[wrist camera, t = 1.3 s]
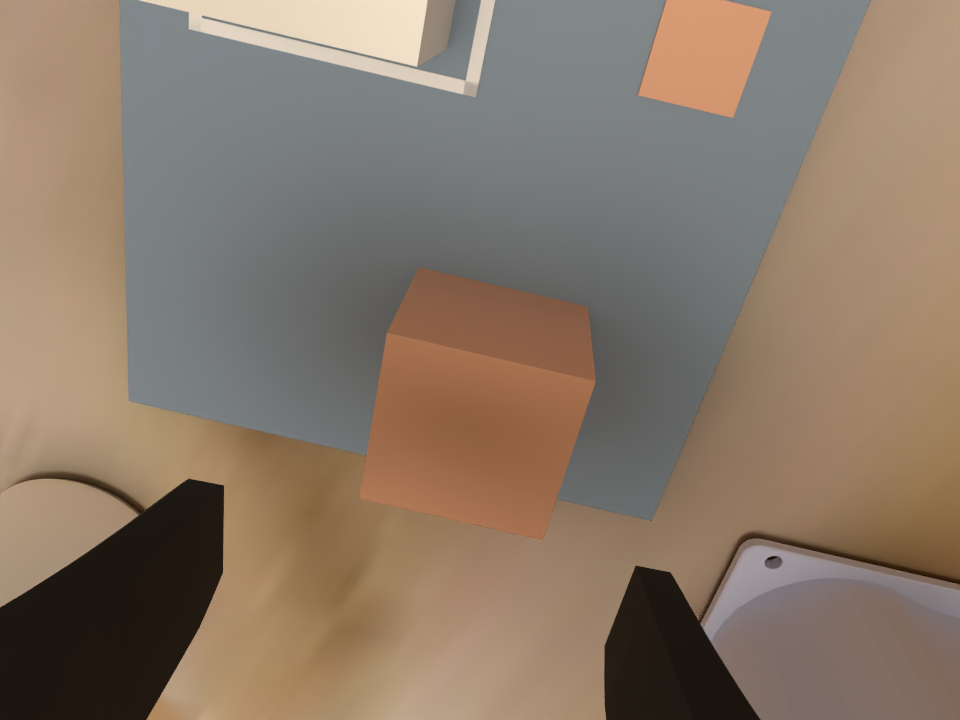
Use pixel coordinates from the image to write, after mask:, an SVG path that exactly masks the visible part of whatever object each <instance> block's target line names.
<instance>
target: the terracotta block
mask: <svg viewBox="0 0 960 720" xmlns="http://www.w3.org/2000/svg"><path fill="white" fill-rule="evenodd" d="M595 382H596V378H595V369H594V359H593V350H592V340H591V331H590V321H589V312H588V307H587V306H583V305H579V304H575V303H570V302H566V301H562V300H558V299H553V298H549V297H545V296H540V295H536V294H532V293H528V292H523V291H519V290H515V289H511V288H506V287H502V286H498V285H493V284H489V283H485V282H481V281H476V280H472V279H468V278H464V277H459V276H455V275H451V274H446V273H442V272H438V271H434V270H429V269H425V268H421V267H418V270H417V272H416V274H415V276H414V278H413V280H412V282H411V284H410V286H409V288H408V290H407V292H406V294H405V296H404V298H403V301H402V303H401V305H400V307H399V309H398V311H397V313H396V315H395V317H394V319H393V321H392V323H391V325H390V327H389V330H388V332H387V335H386V341H385V347H384V353H383V359H382V365H381V371H380V377H379V383H378V389H377V395H376V401H375V407H374V413H373V419H372V425H371V431H370V437H369V443H368V448H367V454H366V460H365V466H364V472H363V478H362V484H361V490H360V496H359V498H360V499H364V500H368V501H373V502H377V503H381V504H386V505H390V506H395V507H399V508H403V509H408V510H412V511H417V512H421V513H425V514H430V515H434V516H438V517H443V518H447V519H452V520H456V521H460V522H465V523H469V524H473V525H478V526H482V527H487V528H491V529H495V530H500V531H504V532H509V533H513V534H517V535H522V536H526V537H530V538H535V539H539V540H543V538H544V535H545V532H546V529H547V526H548V523H549V520H550V517H551V514H552V511H553V508H554V505H555V502H556V499H557V496H558V493H559V490H560V487H561V484H562V481H563V478H564V475H565V472H566V469H567V466H568V463H569V460H570V457H571V454H572V451H573V448H574V445H575V442H576V439H577V436H578V433H579V430H580V427H581V424H582V421H583V418H584V415H585V412H586V409H587V406H588V403H589V400H590V397H591V394H592V391H593V388H594V385H595Z"/></svg>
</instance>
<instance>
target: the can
mask: <svg viewBox="0 0 960 720" xmlns="http://www.w3.org/2000/svg"><path fill="white" fill-rule="evenodd" d="M140 514H141V513H140V512H139V511H138V510H137V509H136V508H134V507H133V506H132V505H131V504H129V503H128V502H126V501H125V500H123V499H122V498H120V497H119V496H117V495H115V494H113V493H111V492H109V491H107V490H105V489H103V488H100V487H98V486H95V485H92V484H89V483H85V482H81V481H76V480H69V479H36V480H30V481H25V482H22V483H19V484H16V485H14V486H12V487H10V488H8V489H7V490H5V491H4V492H2V493H1V494H0V607H1V606H3V605H5V604H6V603H8V602H10V601H11V600H13V599H15V598H17V597H18V596H20V595H22V594H23V593H25V592H26V591H28V590H30V589H31V588H33V587H34V586H36V585H37V584H39V583H41V582H42V581H44V580H45V579H47V578H48V577H50V576H52V575H53V574H55V573H56V572H58V571H59V570H61V569H62V568H64V567H66V566H67V565H69V564H70V563H72V562H73V561H75V560H76V559H78V558H79V557H81V556H82V555H84V554H85V553H87V552H88V551H89V550H91V549H92V548H94V547H95V546H97V545H98V544H99V543H101V542H102V541H104V540H105V539H106V538H108V537H109V536H111V535H112V534H114V533H115V532H116V531H118V530H119V529H121V528H122V527H123V526H125V525H126V524H128V523H129V522H130V521H132V520H133V519H134V518H136V517H137V516H138V515H140Z"/></svg>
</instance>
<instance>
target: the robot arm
mask: <svg viewBox="0 0 960 720" xmlns="http://www.w3.org/2000/svg"><path fill="white" fill-rule="evenodd" d="M223 520H224V486H223V485H218V484H213V483H208V482H203V481H198V480H192V479H188V480H186V481H185V482H183V483H182V484H180V485H179V486H177V487H176V488H175V489H173V490H172V491H171V492H169V493H168V494H167V495H165V496H164V497H163V498H161V499H160V500H159V501H157V502H156V503H155V504H153V505H152V506H151V507H149V508H148V509H147V510H145V511H144V512H143V513H141V514H140V515H138V516H137V517H136V518H134V519H133V520H132V521H130V522H129V523H128V524H126V525H125V526H123V527H122V528H121V529H119V530H118V531H116V532H115V533H114V534H112V535H111V536H109V537H108V538H106V539H105V540H104V541H102V542H101V543H99V544H98V545H97V546H95V547H94V548H92V549H91V550H89V551H88V552H87V553H85V554H84V555H82V556H81V557H79V558H78V559H76V560H75V561H73V562H72V563H70V564H69V565H67V566H66V567H64V568H62V569H61V570H59V571H58V572H56V573H55V574H53V575H52V576H50V577H48V578H47V579H45V580H44V581H42V582H41V583H39V584H37V585H36V586H34V587H33V588H31V589H30V590H28V591H26V592H25V593H23V594H22V595H20V596H18V597H17V598H15V599H13V600H11V601H10V602H8V603H6V604H5V605H3V606H1V607H0V720H146V719H147V718H148V716H149V714H150V712H151V711H152V709H153V707H154V706H155V704H156V702H157V700H158V699H159V697H160V695H161V693H162V692H163V690H164V688H165V687H166V685H167V683H168V681H169V680H170V678H171V676H172V675H173V673H174V671H175V669H176V668H177V666H178V664H179V662H180V661H181V659H182V657H183V655H184V654H185V652H186V650H187V648H188V647H189V645H190V643H191V641H192V640H193V638H194V636H195V634H196V632H197V631H198V629H199V627H200V625H201V623H202V620H203V618H204V616H205V613H206V611H207V609H208V607H209V604H210V602H211V600H212V597H213V595H214V593H215V590H216V588H217V585H218V583H219V581H220V578H221V576H222V573H223ZM771 556H777V557H776V558H775V559H772V560H766V559H767V558H768V557H771ZM604 682H605V711H606V720H960V584H956V583H951V582H947V581H943V580H938V579H934V578H930V577H925V576H921V575H917V574H912V573H908V572H903V571H899V570H895V569H890V568H886V567H882V566H877V565H873V564H869V563H864V562H860V561H855V560H851V559H847V558H842V557H838V556H834V555H829V554H825V553H821V552H816V551H812V550H808V549H803V548H799V547H794V546H790V545H786V544H781V543H777V542H773V541H768V540H764V539H756V538H754V539H750V540H747V541H745V542H744V543H742V545H741V546H740V547H739V549H738V551H737V553H736V555H735V557H734V559H733V561H732V563H731V565H730V567H729V569H728V571H727V572H726V574H725V576H724V578H723V580H722V582H721V584H720V586H719V588H718V590H717V592H716V594H715V596H714V598H713V600H712V602H711V604H710V606H709V608H708V610H707V612H706V614H705V616H704V618H703V620H702V622H701V624H700V623H699V621H698V619H697V617H696V616H695V614H694V612H693V610H692V609H691V607H690V605H689V603H688V602H687V600H686V598H685V596H684V595H683V593H682V591H681V589H680V588H679V586H678V584H677V582H676V581H675V579H674V577H673V576H672V574H671V573H670V572H665V571H660V570H655V569H650V568H645V567H640V566H635V569H634V571H633V574H632V577H631V579H630V582H629V584H628V587H627V590H626V592H625V595H624V597H623V600H622V603H621V605H620V608H619V610H618V613H617V615H616V618H615V621H614V623H613V626H612V628H611V631H610V634H609V636H608V639H607V641H606V644H605V671H604Z"/></svg>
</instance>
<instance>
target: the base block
mask: <svg viewBox="0 0 960 720" xmlns="http://www.w3.org/2000/svg"><path fill="white" fill-rule="evenodd" d="M140 1H144V2H148V3H152V4H156V5H161V6H165V7H169V8H173V9H177V10H181V11H186V12H190V13H194V14H198V15H202V16H207V17H211V18H215V19H219V20H223V21H228V22H232V23H236V24H240V25H244V26H249V27H253V28H257V29H261V30H265V31H269V32H274V33H278V34H282V35H286V36H290V37H295V38H299V39H303V40H307V41H311V42H316V43H320V44H324V45H328V46H332V47H337V48H341V49H345V50H349V51H353V52H357V53H362V54H366V55H370V56H374V57H378V58H383V59H387V60H391V61H395V62H399V63H404V64H408V65H412V66H416V67H418V66H419V65H421V64H423V63H424V62H426V61H428V60H429V59H431V58H433V57H435V56H436V55H438V54H440V53H441V52H443V51H445V50H447V47H448V41H449V36H450V30H451V24H452V19H453V13H454V7H455V2H456V0H140Z"/></svg>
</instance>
